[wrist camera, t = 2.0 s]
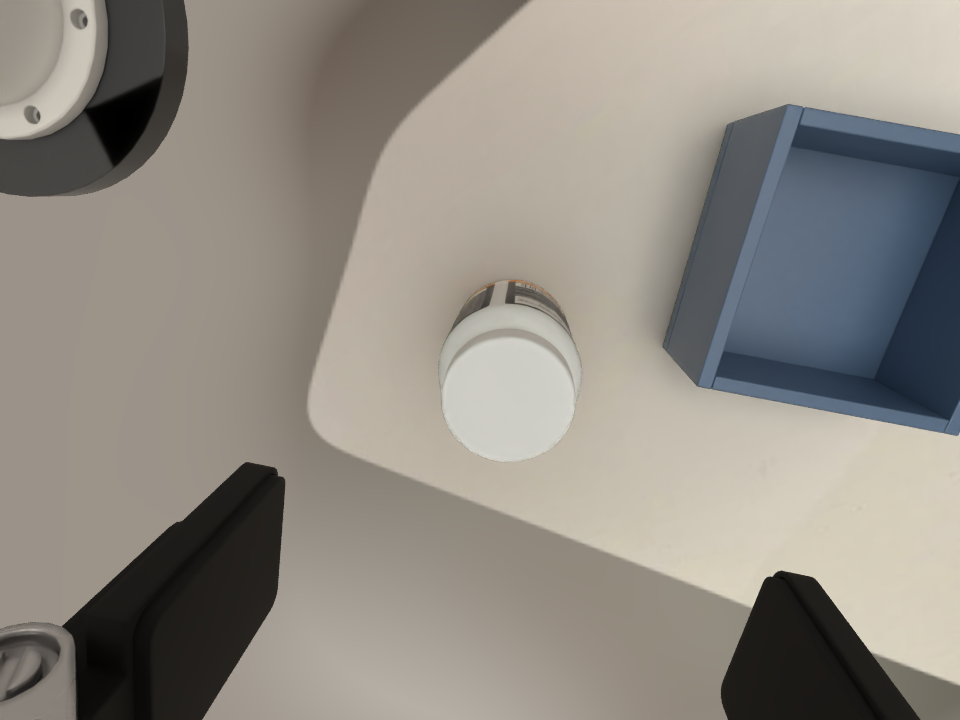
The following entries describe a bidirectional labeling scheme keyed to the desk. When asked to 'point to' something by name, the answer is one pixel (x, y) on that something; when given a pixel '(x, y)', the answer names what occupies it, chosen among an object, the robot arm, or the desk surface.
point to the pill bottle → (509, 373)
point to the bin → (828, 269)
